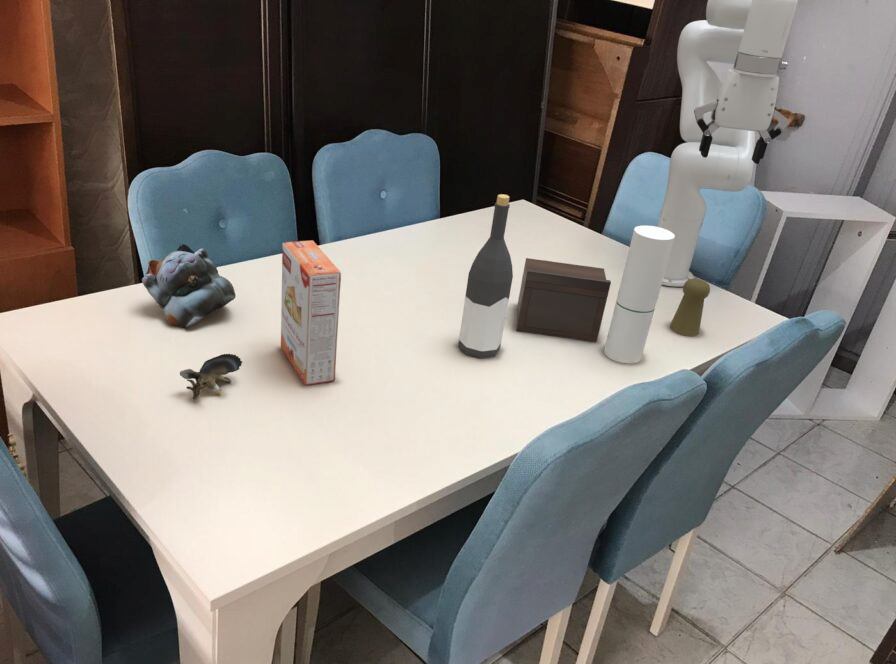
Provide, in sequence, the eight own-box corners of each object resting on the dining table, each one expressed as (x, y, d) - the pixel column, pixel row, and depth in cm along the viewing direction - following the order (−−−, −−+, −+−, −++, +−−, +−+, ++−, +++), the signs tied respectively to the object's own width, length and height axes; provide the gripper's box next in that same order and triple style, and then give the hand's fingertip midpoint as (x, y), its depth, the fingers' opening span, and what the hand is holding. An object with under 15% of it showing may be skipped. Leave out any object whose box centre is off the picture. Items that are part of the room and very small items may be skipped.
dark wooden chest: (517, 306, 179) (527, 248, 172) (592, 316, 177) (606, 259, 171) (516, 330, 169) (527, 270, 162) (596, 342, 167) (611, 282, 161)
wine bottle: (476, 334, 165) (500, 185, 150) (508, 350, 161) (536, 198, 146) (449, 346, 160) (470, 193, 145) (481, 363, 156) (507, 206, 140)
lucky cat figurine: (172, 335, 155) (139, 264, 151) (161, 331, 166) (130, 265, 162) (245, 301, 159) (214, 232, 156) (230, 299, 170) (201, 235, 166)
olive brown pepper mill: (700, 338, 173) (716, 289, 167) (670, 333, 174) (685, 284, 168) (697, 325, 178) (712, 277, 172) (668, 321, 179) (682, 273, 173)
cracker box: (278, 348, 154) (280, 240, 143) (309, 344, 156) (314, 238, 145) (302, 387, 143) (307, 273, 132) (335, 382, 145) (343, 270, 135)
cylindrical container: (642, 350, 166) (675, 230, 153) (639, 366, 160) (673, 242, 147) (605, 342, 167) (635, 222, 155) (601, 358, 161) (632, 234, 149)
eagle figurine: (221, 404, 134) (252, 372, 140) (196, 369, 131) (228, 337, 138) (192, 412, 139) (223, 380, 145) (167, 378, 136) (199, 347, 142)
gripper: (799, 67, 156) (770, 159, 164) (704, 57, 157) (680, 148, 166) (811, 74, 149) (780, 169, 158) (711, 62, 151) (686, 158, 159)
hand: (729, 159), depth 162 cm, fingers open, 9 cm apart
